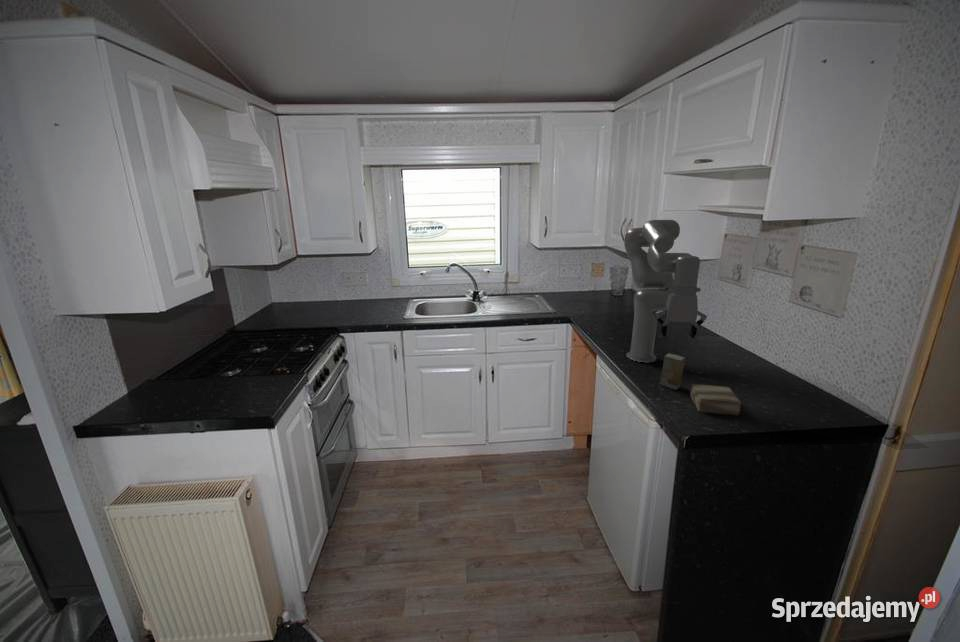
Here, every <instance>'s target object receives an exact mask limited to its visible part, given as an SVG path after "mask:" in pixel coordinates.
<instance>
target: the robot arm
mask: <svg viewBox="0 0 960 642" xmlns="http://www.w3.org/2000/svg"><path fill="white" fill-rule="evenodd" d="M680 233H681V227H680V224H679V223H678V222H677V221H676V220H674V219H652V220H649V221H646V222H645V223H644V224H643V225H642V227H634V228H630V229H629V230H628V231H626V233H625V235H624V243H623V244H624V249H625V252H626V254H627V257H628V259H629V261H630V265H631V270H632V278H633V283H634V285H635V287H637V288H638V289H639V290H638V291H636V292H635V294H634V295H633V311H634V313H633V322H632V323H633V325H632V326H633V327H632V335H631V344H630V351H628V352H626V358H627V357H628V358H629V359H628V358H627V359H628V360H630V359H631V360H630V361H632V360H633V361H632V362H635V361H637V363H640V362H644V364H651V363H654V362H656V361H657V356H656V355H655V354H654V350H655V349H654V348H655V341H656V333H657V326H658V322H659V323H660V324H661V327H660V328H661V329H660V334H661V336H663V337H666V336H667V331H668V326H667V325H668V324H669V323H670V322H672V323H674V322H675V323H676V322H677V323H691V326H690V331H689V336H690V337H691V338H692V339H695V336H696V335H697V331H698V328H699V326H702V324H704V322H705V321H706V319H707V318H708V316H707V314H705V313H703V312H701V311H699V309H698V307H699V306H698V305H699V302H698V300H699V299H698V295H697V293H698V292H701V287H698V286H697V285H698V279H699V272H700V271H699V270H700V266H701V265H700V264H701V259H700V257H699V256H696V255H692V254H690V253H688V252H669V251H670V250H671V249H672V248H673V247H674V243H675V241H676V240H677V239H678V238H679V236H680ZM643 248H648V249H647V251H646V250H644V249H643ZM673 274H674V276H673ZM653 312H655V313H654V314H653ZM662 315H664V318H663V319H662V318H661V316H662ZM698 316H699V317H700V318H699V319H698V320H697V318H698ZM650 362H651V363H650Z"/></svg>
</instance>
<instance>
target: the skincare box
mask: <svg viewBox="0 0 960 642" xmlns="http://www.w3.org/2000/svg"><path fill="white" fill-rule="evenodd" d="M685 361H686V357H684V356H680V355H679V354H673V353H670V352H668V353H667V354H665V355H664V358H663V364H662V370H661V376H660V381H659V382H660V383H659V384H660V386H662V387H666V388H669V389H671V390H675V391H677V390H678V389H679V388H680V387H681V384H682V378H683V373H684V367H685Z"/></svg>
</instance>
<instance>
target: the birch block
mask: <svg viewBox="0 0 960 642" xmlns="http://www.w3.org/2000/svg"><path fill="white" fill-rule="evenodd" d="M689 392H690V393H689V395H690V398H691V401H692V402H693V403H694V405H695V406H696V409H697V411H698V412H700V413H701V412H703V413H709V414H710V413H711V414H712V413H713V414H722V415H729V414H731V416H739V415H740V412H741V405H742V401H740V399H739V398H738V397H737V395H736V394H735V393H734V392H733V391H732V389H731V388H730V387H729V386H722V385H711V384H698V383H691V387H690V391H689Z"/></svg>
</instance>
